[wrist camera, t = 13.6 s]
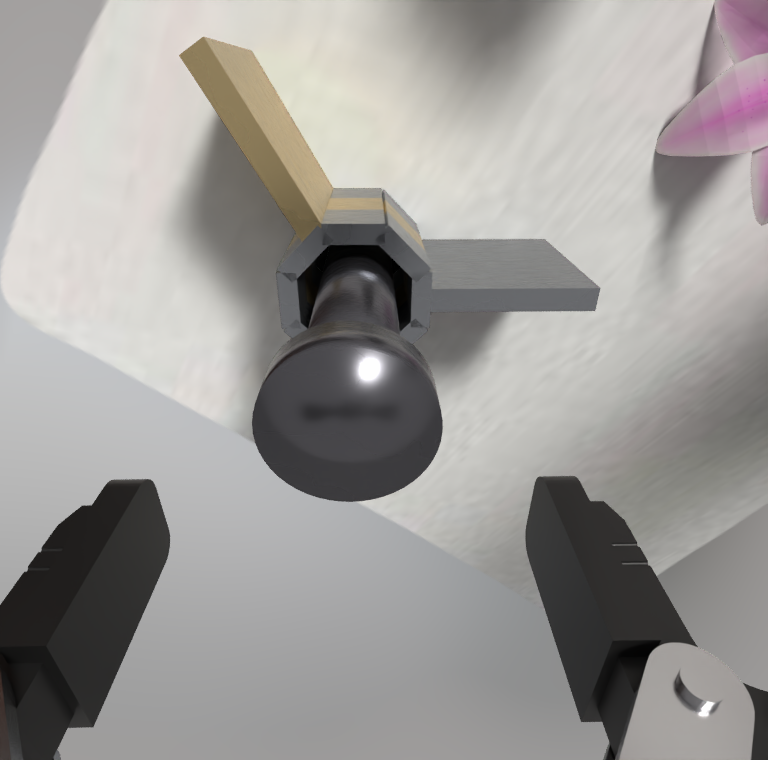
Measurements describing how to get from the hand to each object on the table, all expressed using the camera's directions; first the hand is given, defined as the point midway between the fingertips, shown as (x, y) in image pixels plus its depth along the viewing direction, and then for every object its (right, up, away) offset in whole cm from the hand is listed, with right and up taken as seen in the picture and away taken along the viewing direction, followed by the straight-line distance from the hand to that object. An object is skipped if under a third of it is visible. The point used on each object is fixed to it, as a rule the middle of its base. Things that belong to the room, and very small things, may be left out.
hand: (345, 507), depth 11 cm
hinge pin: (0, +10, +16) cm, 19 cm away
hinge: (+2, +12, +15) cm, 19 cm away
